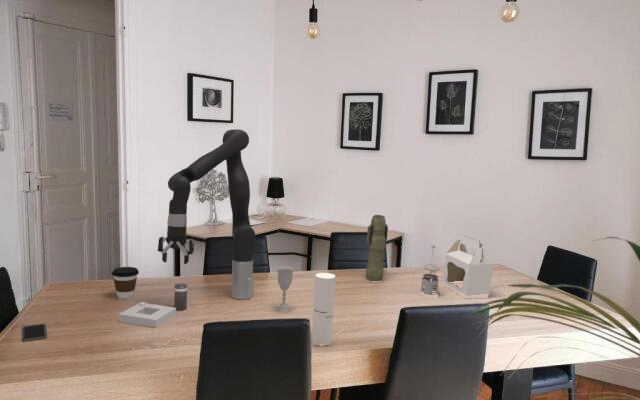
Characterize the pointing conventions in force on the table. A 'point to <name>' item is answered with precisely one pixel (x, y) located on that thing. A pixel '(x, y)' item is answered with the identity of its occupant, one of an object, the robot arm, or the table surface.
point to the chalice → (284, 284)
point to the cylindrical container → (323, 308)
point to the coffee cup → (125, 281)
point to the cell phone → (34, 332)
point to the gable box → (468, 267)
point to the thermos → (376, 247)
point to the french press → (427, 282)
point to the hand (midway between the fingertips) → (175, 262)
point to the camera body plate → (147, 314)
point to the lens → (180, 297)
